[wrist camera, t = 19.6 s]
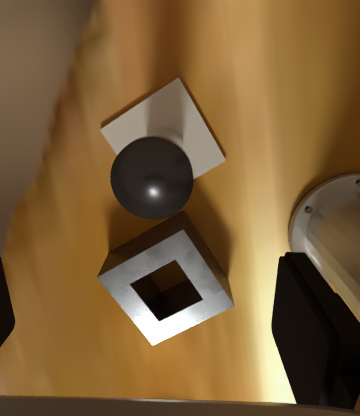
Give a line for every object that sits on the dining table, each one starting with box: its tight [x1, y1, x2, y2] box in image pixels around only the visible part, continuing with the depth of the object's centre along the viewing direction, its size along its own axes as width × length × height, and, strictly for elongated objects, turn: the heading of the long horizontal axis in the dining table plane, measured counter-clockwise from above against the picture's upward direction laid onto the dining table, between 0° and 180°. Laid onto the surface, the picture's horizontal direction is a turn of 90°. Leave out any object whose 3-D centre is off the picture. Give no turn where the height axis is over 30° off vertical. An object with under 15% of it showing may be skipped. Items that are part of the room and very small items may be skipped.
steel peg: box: [110, 127, 193, 219], centre depth 24 cm, size 5×5×13 cm
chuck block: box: [97, 210, 234, 345], centre depth 34 cm, size 10×10×5 cm
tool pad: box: [100, 77, 226, 179], centre depth 31 cm, size 9×9×1 cm
